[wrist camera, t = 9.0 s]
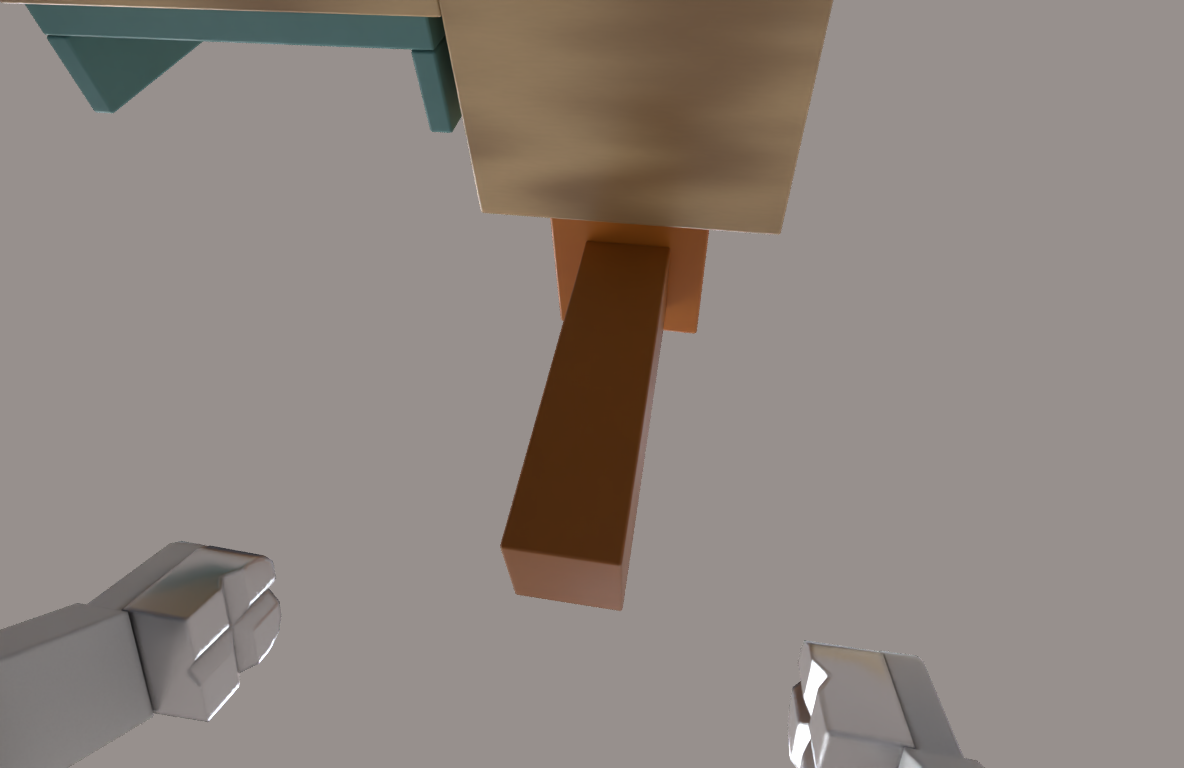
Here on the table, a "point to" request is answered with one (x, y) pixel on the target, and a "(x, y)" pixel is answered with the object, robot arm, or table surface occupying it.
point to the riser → (616, 101)
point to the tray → (164, 36)
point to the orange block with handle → (598, 406)
